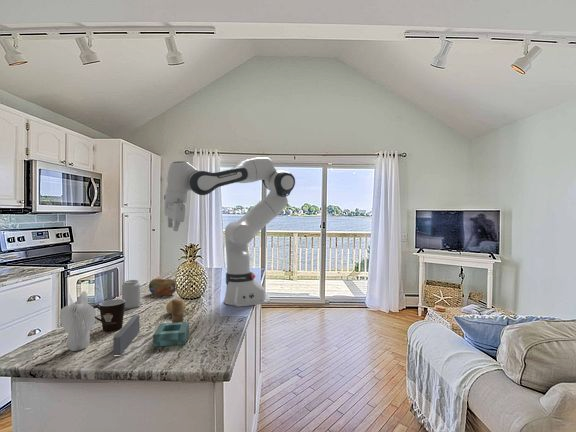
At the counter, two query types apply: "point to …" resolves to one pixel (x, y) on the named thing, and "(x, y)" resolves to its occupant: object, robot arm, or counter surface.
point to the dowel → (177, 310)
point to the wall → (126, 335)
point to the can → (131, 293)
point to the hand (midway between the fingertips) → (172, 229)
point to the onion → (169, 306)
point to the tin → (162, 287)
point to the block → (171, 334)
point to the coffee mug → (111, 314)
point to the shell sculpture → (78, 322)
